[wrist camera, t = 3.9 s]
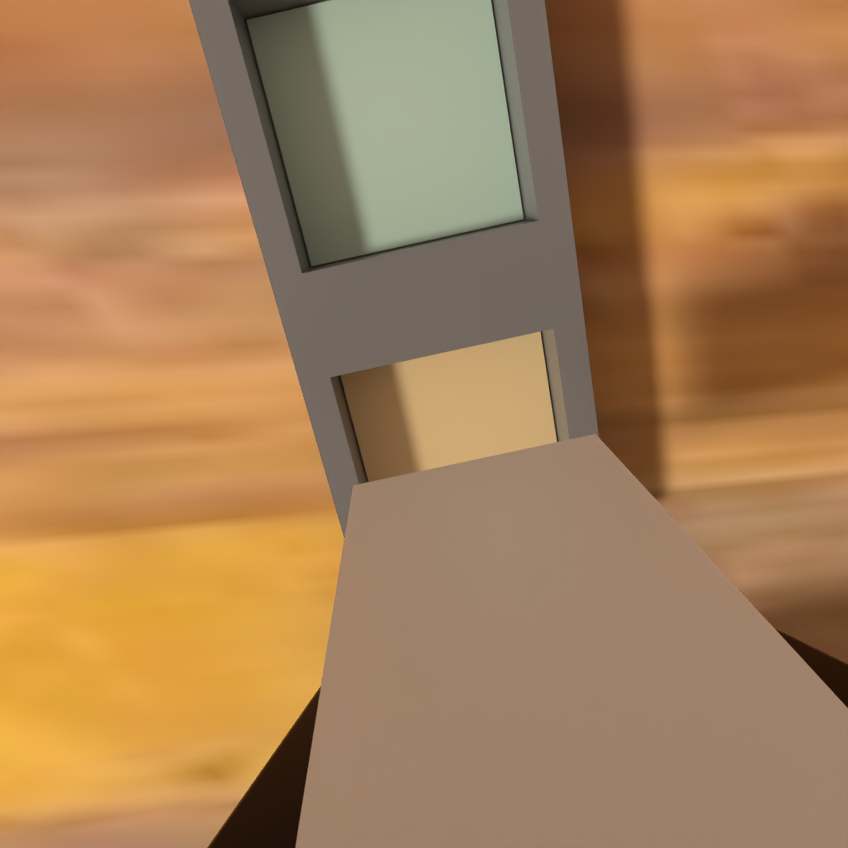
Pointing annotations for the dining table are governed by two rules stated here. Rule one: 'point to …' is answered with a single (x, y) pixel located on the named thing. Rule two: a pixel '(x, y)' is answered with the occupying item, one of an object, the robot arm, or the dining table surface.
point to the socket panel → (409, 223)
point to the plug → (558, 675)
